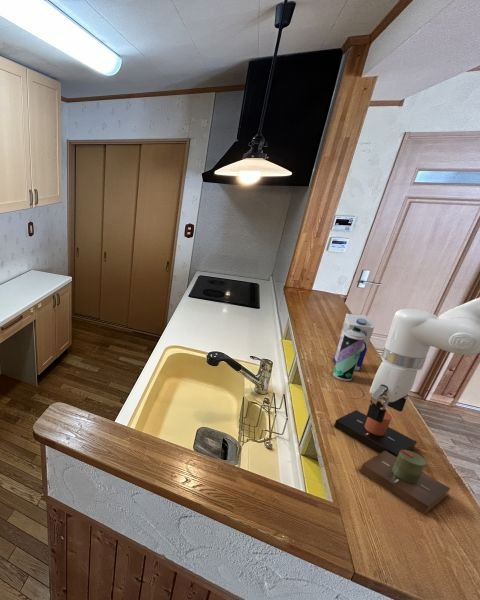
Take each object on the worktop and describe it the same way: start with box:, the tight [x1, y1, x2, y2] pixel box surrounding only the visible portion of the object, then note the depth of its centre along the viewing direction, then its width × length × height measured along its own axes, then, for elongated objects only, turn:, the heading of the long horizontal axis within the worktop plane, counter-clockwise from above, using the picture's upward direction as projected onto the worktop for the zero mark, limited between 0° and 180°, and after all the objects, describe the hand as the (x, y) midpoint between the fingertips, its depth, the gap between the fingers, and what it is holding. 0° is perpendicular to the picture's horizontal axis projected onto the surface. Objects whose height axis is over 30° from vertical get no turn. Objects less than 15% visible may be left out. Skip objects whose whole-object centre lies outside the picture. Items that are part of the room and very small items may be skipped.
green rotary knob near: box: [392, 450, 427, 483], centre depth 74 cm, size 4×4×6 cm
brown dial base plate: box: [359, 451, 451, 515], centre depth 76 cm, size 12×10×3 cm
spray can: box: [332, 326, 365, 382], centre depth 114 cm, size 6×6×20 cm
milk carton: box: [333, 313, 375, 372], centre depth 121 cm, size 7×7×20 cm
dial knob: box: [364, 411, 393, 436], centre depth 88 cm, size 4×4×6 cm
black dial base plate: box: [333, 409, 417, 457], centre depth 89 cm, size 14×10×3 cm
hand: (384, 413), depth 87 cm, fingers open, 9 cm apart
